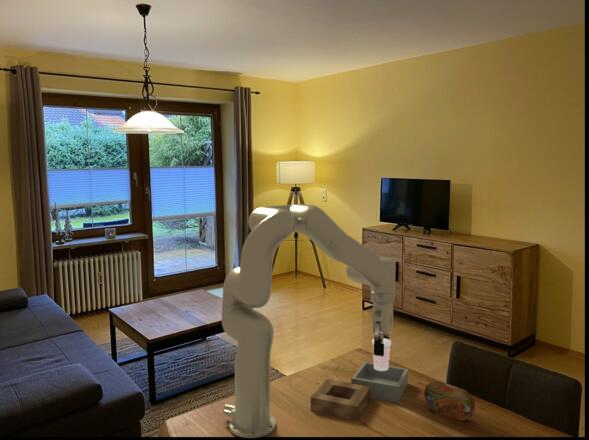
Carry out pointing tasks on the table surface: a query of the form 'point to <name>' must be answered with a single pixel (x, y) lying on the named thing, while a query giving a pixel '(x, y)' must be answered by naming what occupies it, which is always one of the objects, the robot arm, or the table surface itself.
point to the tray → (382, 381)
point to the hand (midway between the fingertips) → (381, 351)
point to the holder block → (340, 399)
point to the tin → (449, 400)
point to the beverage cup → (382, 361)
